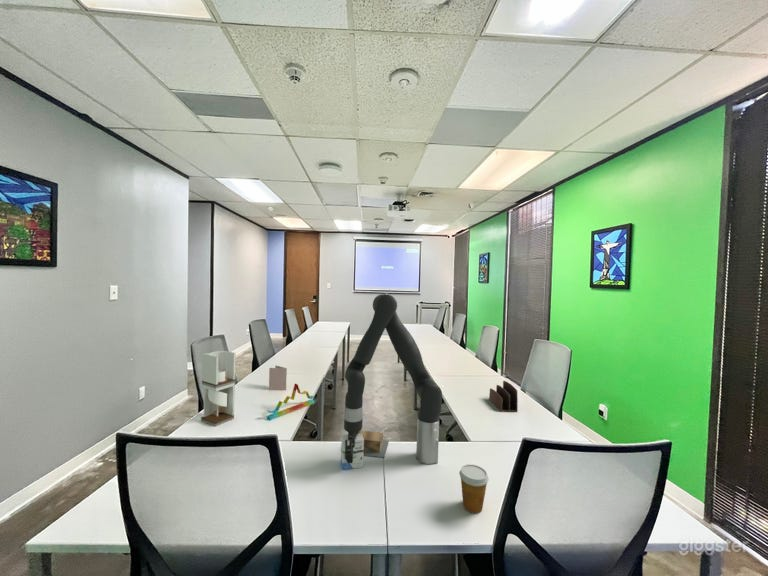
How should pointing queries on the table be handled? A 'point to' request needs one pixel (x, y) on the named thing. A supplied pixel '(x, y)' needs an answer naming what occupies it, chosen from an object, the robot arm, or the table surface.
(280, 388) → the greeting card
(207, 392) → the tiered shelf stand
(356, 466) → the ink box
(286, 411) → the chart
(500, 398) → the letter holder
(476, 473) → the disposable coffee cup
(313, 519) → the table surface
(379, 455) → the pad
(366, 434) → the open cardboard box
